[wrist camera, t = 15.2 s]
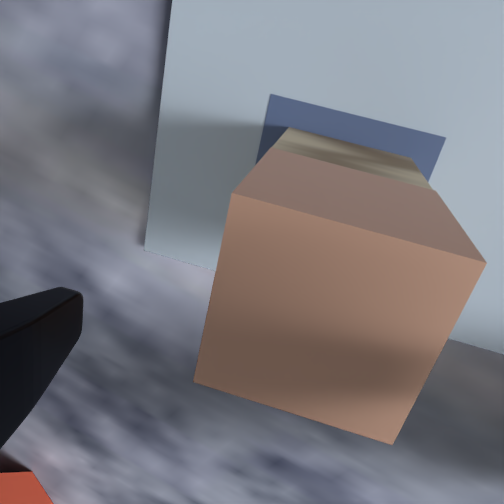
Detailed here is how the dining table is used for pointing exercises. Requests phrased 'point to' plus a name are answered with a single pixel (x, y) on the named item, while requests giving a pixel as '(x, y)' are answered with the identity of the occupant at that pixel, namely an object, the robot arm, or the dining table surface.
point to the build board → (334, 113)
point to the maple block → (351, 156)
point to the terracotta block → (334, 293)
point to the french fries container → (22, 489)
